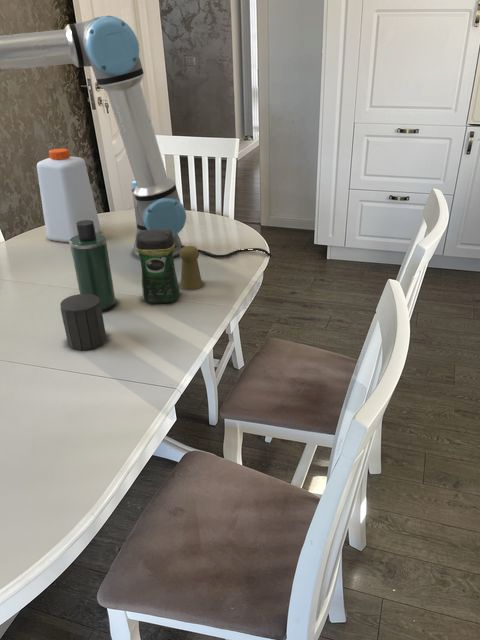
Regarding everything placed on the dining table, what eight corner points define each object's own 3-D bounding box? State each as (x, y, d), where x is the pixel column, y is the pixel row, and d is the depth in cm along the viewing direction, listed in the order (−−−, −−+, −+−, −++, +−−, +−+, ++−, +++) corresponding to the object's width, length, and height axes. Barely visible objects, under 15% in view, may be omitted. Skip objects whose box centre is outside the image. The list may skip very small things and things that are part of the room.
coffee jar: (180, 291, 148) (175, 224, 139) (178, 304, 142) (172, 235, 132) (145, 291, 148) (136, 225, 138) (140, 305, 141) (131, 236, 132)
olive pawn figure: (206, 282, 153) (204, 245, 147) (195, 291, 148) (192, 253, 143) (187, 279, 155) (184, 242, 149) (176, 287, 151) (172, 249, 145)
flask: (115, 296, 146) (102, 215, 134) (116, 310, 139) (103, 226, 127) (82, 300, 144) (66, 218, 132) (82, 314, 137) (65, 229, 125)
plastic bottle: (42, 240, 182) (22, 153, 168) (68, 226, 195) (52, 144, 180) (81, 245, 178) (65, 156, 164) (105, 230, 191) (92, 146, 176)
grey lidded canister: (105, 329, 130) (99, 291, 125) (106, 347, 123) (99, 307, 118) (69, 334, 128) (60, 296, 123) (68, 352, 121) (59, 312, 116)
